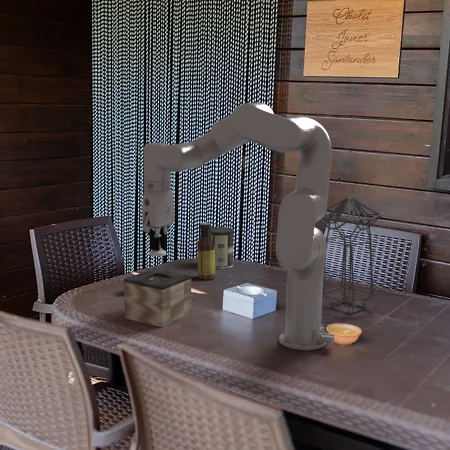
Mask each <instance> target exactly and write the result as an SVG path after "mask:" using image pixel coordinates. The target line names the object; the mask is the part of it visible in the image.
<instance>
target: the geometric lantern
mask: <svg viewBox="0 0 450 450" xmlns="http://www.w3.org/2000/svg"><path fill="white" fill-rule="evenodd" d="M346 205H347V209H345V208H346ZM334 207H335V208H334ZM351 207H352V209H351ZM333 208H334V209H333ZM364 208H365V209H367V210H369V212H372V213H368V212H367V211H366V210H365V209H364ZM331 209H333V210H332V211H331V212H330V213H329V214H328V213H325V215H324V216H323V218H322V219H320V220H319V221H320V222H321V223H322V224H323V225H324V226H325V227H326V228H327V233H326V236H325V239H326V243H327V244H328V243H332V244H338V245H343V247H342V248H343V251H342V263H341V264H342V266H341V267H342V268H341V280H340V286H337V287H334V288H331V289H327V290H325V283H326V281H325V278H326V266H327V265H326V264H327V258H326V259H325V265H324V275H323V292H322V297H325V298H326V299H327V301H329V302H330V303H329V304H330V306H329V307H330V308H331V309H333V310H335V311H336V310H337V311H340V312H341V313H342V312H343V313H346V314H350V315H351V314H355V313H358V312H360V311H363V310H366V309H367V308H366V303H367V302H369V301H370V300H371V299H373V298H374V297H375V289H374V273H373V254H372V253H373V249H372V248H373V247H372V246H373V245H372V243H373V242H372V241H373V239H372V234H371V226H372V225H374V224H375V223H376V222H377V221H378V220H379V219H380V218H381V217H383V216H384V215H383V213H380V212H379V211H377V210H375V209H374V208H372V207H370V206H368V205H367V204H365V203H363V202H362V201H360V200H358V199H356V198H354V197H353V196H352V197H349V196H348V197H345V198H344V199H341V200H340V201H338V202H337V203H334V204H333V205H331V206H328V207H327V211H329V210H331ZM345 211H347V219H340V217H341V216H342V214H343V212H345ZM351 215H352V216H353V218H354V219H352V220H351ZM371 216H373V217H371ZM333 217H335V219H334V218H333ZM364 221H365V222H364ZM366 221H367V222H366ZM339 222H340V223H341V224H340V225H339ZM349 222H350V223H351V222H352V223H353V224H355V228H354V229H353V230H352V232H351V233H350V235H346V234H345V232H344V230H343V229H342V228H341V227H343V226H344V225H346V224H348V223H349ZM357 222H358V223H357ZM331 224H334V227H331ZM360 224H361V226H360ZM364 225H365V226H364ZM357 229H359V230H358V232H357V233H356V235H354V234H355V232H356V230H357ZM330 230H337V233H338V236H334V237H329V235H330ZM365 230H366V231H367V236H368V238H367V237H361V236H359V234H360V232H361V231H365ZM341 232H342V233H341ZM338 238H339V239H340V238H341V239H342V242H343V243H342V242H341V243H340V242H336V241H334V239H338ZM346 238H349V243H347V242H346V240H347V239H346ZM352 238H353V240H352ZM356 238H357V239H362V240H367V241H364V242H358V243H354V242H355V240H356ZM332 240H333V241H332ZM353 243H354V244H353ZM364 244H368V247H369V248H368V249H369V263H370V264H369V265H370V271H369V272H370V291H369V290H365V289H361V288H357V287H355V280H354V276H355V275H354V252H353V249H354V248H353V247H354V246H358V245H364ZM347 247H349V267H348V268H349V272H348V276H349V279H348V280H349V281H348V283H349V284H348V285H349V286H348V285H347V283H346V282H347ZM327 252H328V251H327ZM327 252H326V256H327V254H328V253H327ZM346 285H347V286H346ZM339 289H341V292H342V296H339V297H335V296H331V295H327V294H326V293H328V292H332V291H335V290H339ZM347 289H348V291H346V290H347ZM355 290H356V291H359V292H364V293H367V294H368V295H367V296H363V297H360V298H356V297H355ZM350 291H352V292H351V293H352V296H351V297H350V296H349V294H350ZM346 292H347V294H346ZM331 299H332V300H331ZM348 299H351V300H348ZM335 301H339V302H335ZM358 301H361V302H359V303H356V302H358ZM349 305H350V306H349ZM336 306H343V307H345V308H347V311H345V310H342V309H339V308H336ZM354 307H360V309H357V310H355V311H354ZM350 308H351V312H350Z"/></svg>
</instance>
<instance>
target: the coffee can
mask: <svg viewBox="0 0 450 450" xmlns="http://www.w3.org/2000/svg"><path fill="white" fill-rule="evenodd" d="M210 229H211V237H212V240H213V243H214V246H215V270H226V269H232V268H233V267H234V242H235V241H234V238H235V237H234V235H235V234H234V232H235V229H234V228H232V227H227V226H214V227H211V228H210Z"/></svg>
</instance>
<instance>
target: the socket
mask: <svg viewBox="0 0 450 450" xmlns="http://www.w3.org/2000/svg"><path fill="white" fill-rule="evenodd" d="M123 293H124V302H123V303H124V319H127V320H131V321H135V322H139V323H143V324H147V325H150V326H151V325H152V326H155V327H160V328H164V327H166V326H168V325H169V326H170V325H171V324H173V323H176V322H177V321H180V320H182V319H183V318H185V317H187V316H190V315H192V275H190V274H185V273H180V272H174V271H170V270H165V269H164V270H163V269H158V268H151V269H149V270H146V271H143V272H139V273H137V274H134V275H132V276H127V277H125V278H123Z"/></svg>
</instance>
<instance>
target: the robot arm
mask: <svg viewBox="0 0 450 450" xmlns="http://www.w3.org/2000/svg"><path fill="white" fill-rule="evenodd" d="M249 142H252V143H255V144H257V145H260V146H262V147H264V148H265V147H266V148H268V149H269V150H273V151H276V152H278V153H284V154H291V153H294V152H298V153H299V159H298V163H297V167H296V176H295V177H296V178H295V179H296V180H295V185H294V186H295V187H294V190H293V191H290V192H289V193H288V194H286V196H284V198H283V200H281V203H280V206H279V211H278V216H277V217H278V218H277V231H276V238H275V239H276V241H275V255H276V258H277V260H278V262H279V264H280V265H281V267H283V268H284V269H286V270H287V272H286V273H287V274H286V276H287V277H286V290H285V291H286V293H285V294H286V296H285V319H284V321H285V323H284V324H285V325H284V332H282V333H280V335H279V337H278V340H279V341H278V342H279V343H280V345H282V346H284V347H286V348H288V349H292V350H297V351H316V350H319V349H321V348H324V347H325V346H326V345H327V344H330V345H333V344H334V342H335V337H334V333H328V332H326V331H325V326H323V325H322V314H323V313H322V309H323V295H322V292H323V275H324V265H325V259H326V260H327V255H326V252H328V243H326V236H325V235H324V233H323V231H321V230H320V229H318V228H317V227H316V223H317V222H319V221H320V219H322V218H323V216H324V215H325V214H327V211H328V210H327V208H328V200H329V190H330V181H331V180H330V179H331V168H332V156H333V154H332V153H333V151H332V150H333V148H332V147H333V146H332V143H331V138H330V136H329V134H328V131H326V129H325V128H324V127H323V126H322V125H321V124H320V123H319V122H317V121H316V120H314V119H312V118H309V117H305V116H293V117H285V116H281V115H279V114H276V113H274V111H273V110H272V108H271V107H270V106H268V105H267V104H265V103H263V102H247V103H246V102H245V103H242V104H239V105H237V106H236V107H235V108H234V110H233V111H232V112H231V114H230V115H228V116H226V117H224V118H221V119H220V120H218V121H215V122H213V124H212V125H211V129H210V131H208V132H207V133H205V134H203V135H202V136H199V137H197V138H196V139H193V140H191V141H188V142H182V143H181V142H180V143H177V144H175V143H174V144H168V143H164V142H149V143H147V144H145V145H144V147H143V186H144V187H143V194H142V195H143V197H142V206H141V220H142V221H141V222H142V231H143V232H145V233H146V234H148V237H149V250H150V251H152V250H155V251H159V250H160V247H161V248H162V249H161V250H165V249H167V235H168V231H169V228H170V227H171V226H172V224H174V223H175V220H176V219H175V202H174V194H173V191H172V190H171V182H172V181H171V180H172V179H171V172H173V173H174V172H175V173H178V172H182V171H183V172H184V171H187V170H192V169H195V168H199V167H200V166H203V165H204V164H205V165H206V164H207V163H209V162H211V161H213V160H215V159H217V158H219V157H221V156H222V155H225V154H227V153H229V152H230V151H233V150H234V149H237V148H239V147H240V146H243V145H244V144H247V143H249ZM324 217H325V216H324ZM322 220H323V219H322ZM159 227H161V230H160V233H159V234H161V236H160V237H158V228H159Z"/></svg>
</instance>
